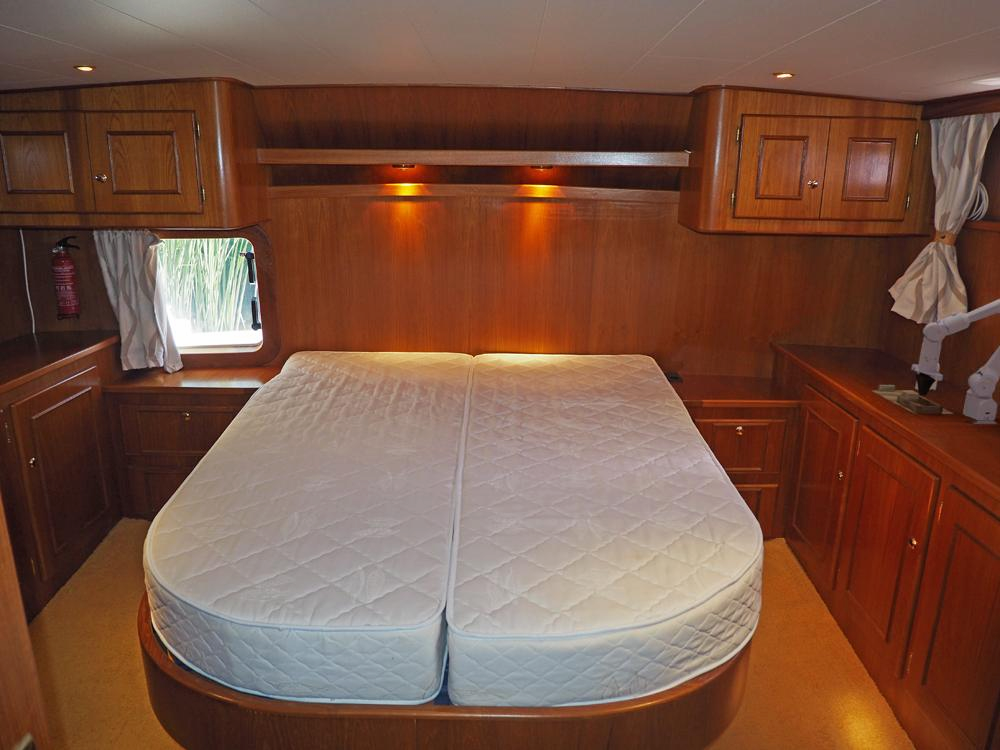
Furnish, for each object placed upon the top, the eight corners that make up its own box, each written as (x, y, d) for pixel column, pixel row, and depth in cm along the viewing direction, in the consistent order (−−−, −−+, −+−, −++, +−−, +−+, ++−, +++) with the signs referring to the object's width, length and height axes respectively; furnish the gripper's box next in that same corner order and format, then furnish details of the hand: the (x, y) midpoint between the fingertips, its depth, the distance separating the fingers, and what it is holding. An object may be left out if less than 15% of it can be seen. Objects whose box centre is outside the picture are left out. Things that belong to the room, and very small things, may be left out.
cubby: (941, 413, 246) (943, 406, 245) (917, 413, 246) (919, 406, 245) (919, 402, 258) (920, 395, 258) (896, 402, 258) (897, 395, 257)
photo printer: (924, 395, 272) (929, 364, 269) (912, 392, 276) (918, 361, 273) (937, 391, 278) (942, 360, 275) (925, 388, 282) (931, 358, 278)
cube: (917, 404, 256) (919, 393, 255) (906, 404, 256) (908, 393, 255) (910, 401, 260) (912, 390, 259) (900, 401, 260) (902, 390, 259)
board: (953, 417, 246) (955, 407, 245) (913, 417, 246) (915, 407, 245) (906, 394, 273) (907, 385, 272) (870, 394, 273) (871, 384, 272)
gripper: (905, 352, 253) (899, 388, 257) (931, 362, 239) (923, 401, 243) (925, 352, 253) (918, 389, 257) (951, 362, 239) (944, 401, 243)
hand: (922, 394), depth 250 cm, fingers closed
